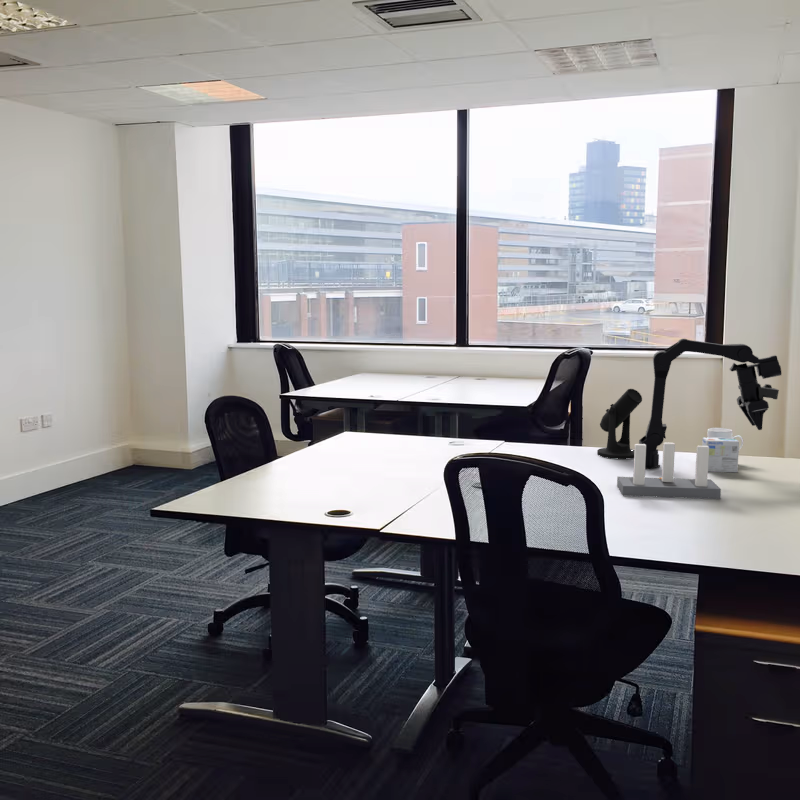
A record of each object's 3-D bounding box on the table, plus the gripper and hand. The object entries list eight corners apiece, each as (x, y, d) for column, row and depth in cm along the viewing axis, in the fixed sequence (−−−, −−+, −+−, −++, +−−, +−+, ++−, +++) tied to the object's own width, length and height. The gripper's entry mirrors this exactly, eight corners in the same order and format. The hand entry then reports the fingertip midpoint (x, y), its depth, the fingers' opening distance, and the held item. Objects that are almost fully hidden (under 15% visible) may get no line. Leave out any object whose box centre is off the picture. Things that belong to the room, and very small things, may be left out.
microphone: (622, 461, 296) (625, 391, 292) (586, 453, 310) (589, 386, 307) (650, 457, 304) (654, 388, 300) (615, 449, 318) (617, 383, 315)
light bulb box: (732, 468, 286) (734, 437, 285) (738, 472, 280) (740, 441, 278) (700, 467, 287) (701, 436, 286) (705, 472, 281) (707, 440, 279)
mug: (703, 462, 296) (705, 430, 294) (708, 457, 303) (710, 426, 301) (740, 466, 290) (742, 433, 288) (743, 461, 297) (745, 429, 295)
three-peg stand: (617, 485, 261) (619, 438, 259) (710, 488, 258) (713, 440, 255) (622, 495, 249) (624, 446, 247) (720, 499, 246) (723, 448, 244)
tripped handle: (661, 480, 255) (663, 442, 253) (671, 480, 254) (673, 442, 253) (662, 481, 253) (664, 443, 251) (673, 482, 252) (675, 443, 251)
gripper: (780, 379, 265) (790, 427, 267) (766, 373, 284) (775, 418, 285) (744, 386, 268) (753, 434, 269) (732, 380, 286) (741, 425, 287)
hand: (757, 427), depth 277 cm, fingers open, 9 cm apart
